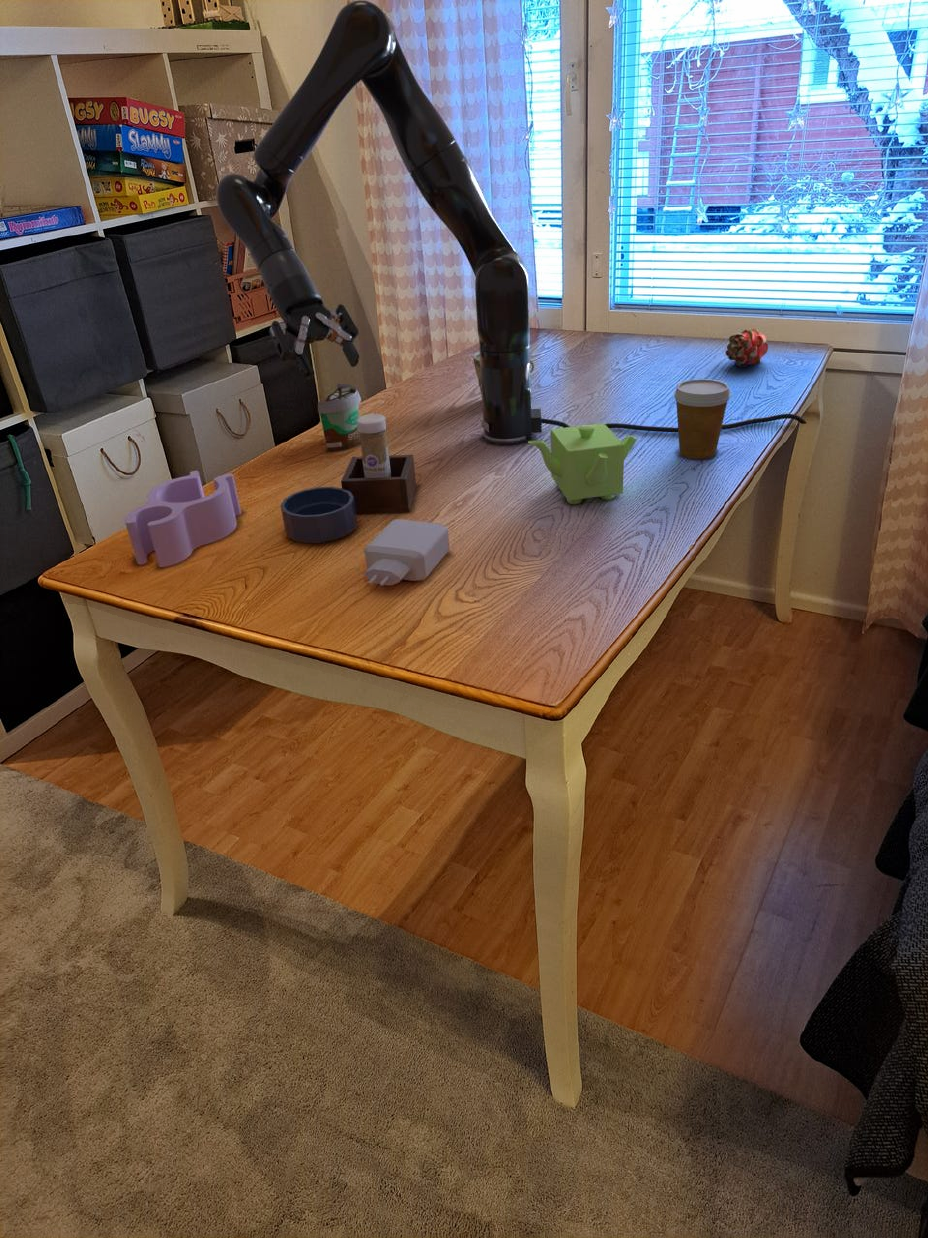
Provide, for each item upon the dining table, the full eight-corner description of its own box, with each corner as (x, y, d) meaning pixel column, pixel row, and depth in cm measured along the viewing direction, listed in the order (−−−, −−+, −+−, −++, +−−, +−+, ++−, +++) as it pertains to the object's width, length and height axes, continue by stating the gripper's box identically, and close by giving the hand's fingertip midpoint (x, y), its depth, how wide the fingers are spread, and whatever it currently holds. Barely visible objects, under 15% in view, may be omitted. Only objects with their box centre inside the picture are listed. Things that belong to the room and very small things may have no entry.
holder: (416, 486, 152) (413, 454, 149) (409, 512, 143) (405, 478, 140) (356, 488, 153) (352, 456, 150) (345, 514, 144) (340, 481, 141)
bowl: (362, 514, 144) (358, 485, 141) (350, 545, 134) (346, 515, 132) (295, 516, 145) (290, 487, 142) (278, 547, 135) (273, 517, 133)
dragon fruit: (729, 378, 197) (750, 372, 205) (763, 359, 191) (783, 353, 199) (713, 344, 196) (734, 339, 205) (746, 323, 190) (767, 319, 199)
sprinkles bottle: (366, 501, 146) (355, 423, 139) (367, 490, 150) (357, 413, 143) (394, 499, 146) (384, 420, 139) (394, 488, 150) (385, 411, 143)
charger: (347, 595, 121) (393, 546, 133) (408, 604, 118) (450, 553, 130) (342, 564, 119) (390, 518, 130) (404, 573, 115) (447, 524, 127)
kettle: (605, 518, 136) (606, 449, 131) (526, 502, 144) (523, 436, 138) (644, 483, 147) (647, 417, 141) (568, 469, 154) (568, 407, 148)
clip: (185, 570, 131) (174, 527, 127) (116, 561, 134) (103, 520, 131) (254, 513, 146) (246, 474, 143) (191, 507, 150) (181, 469, 147)
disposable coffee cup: (730, 446, 158) (736, 379, 152) (719, 465, 151) (725, 396, 145) (677, 441, 162) (681, 376, 156) (664, 460, 155) (668, 392, 149)
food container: (355, 454, 167) (348, 402, 162) (324, 453, 168) (316, 402, 163) (373, 431, 177) (367, 382, 172) (344, 431, 178) (337, 382, 173)
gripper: (256, 281, 141) (302, 370, 140) (332, 264, 148) (376, 348, 147) (247, 308, 148) (291, 392, 147) (321, 290, 155) (363, 371, 154)
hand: (334, 370), depth 147 cm, fingers open, 8 cm apart
